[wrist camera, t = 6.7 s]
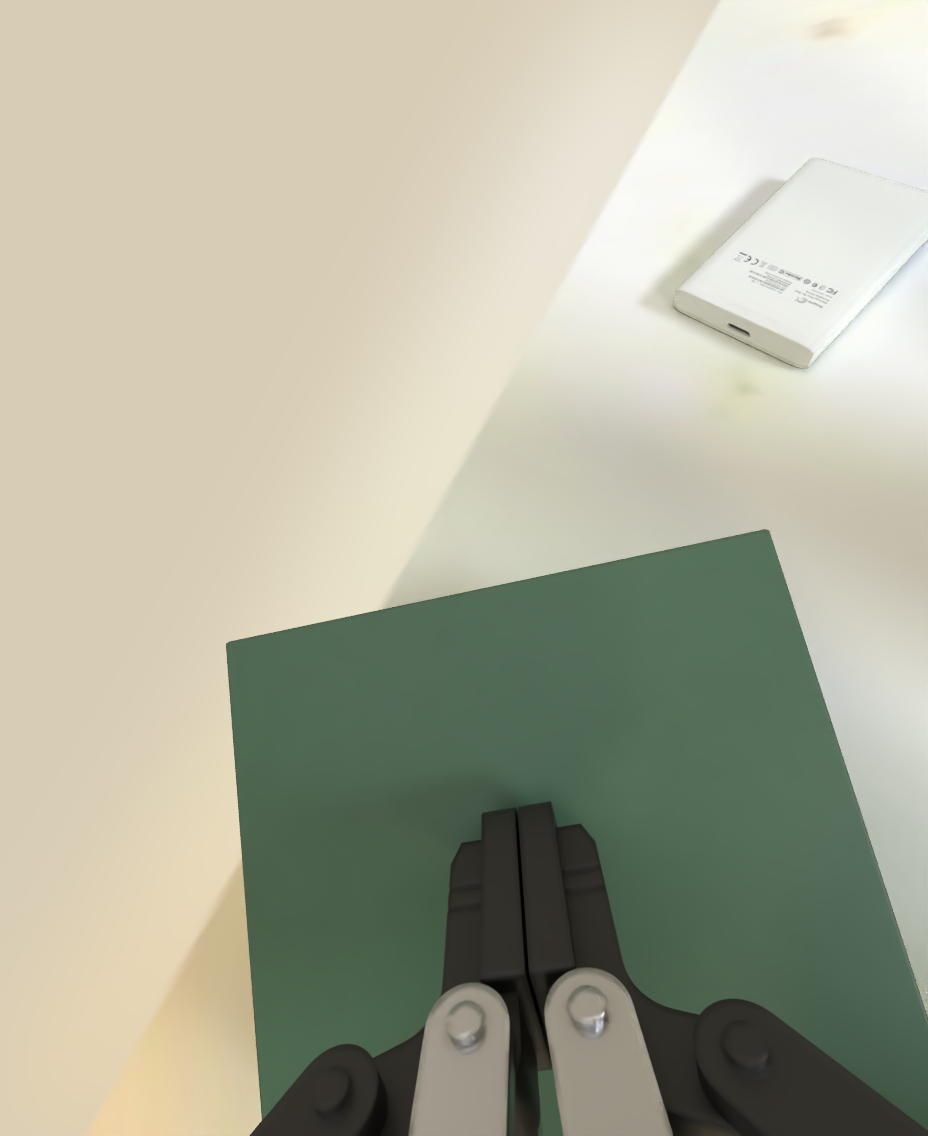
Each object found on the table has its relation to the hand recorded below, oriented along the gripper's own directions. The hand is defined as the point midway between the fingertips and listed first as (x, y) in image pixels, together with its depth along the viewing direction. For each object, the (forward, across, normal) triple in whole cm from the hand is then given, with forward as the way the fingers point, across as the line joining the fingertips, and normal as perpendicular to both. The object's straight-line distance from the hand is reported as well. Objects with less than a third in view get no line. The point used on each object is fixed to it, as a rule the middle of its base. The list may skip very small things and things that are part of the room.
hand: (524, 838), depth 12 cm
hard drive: (+27, -20, -10) cm, 35 cm away
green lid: (0, 0, +3) cm, 3 cm away
